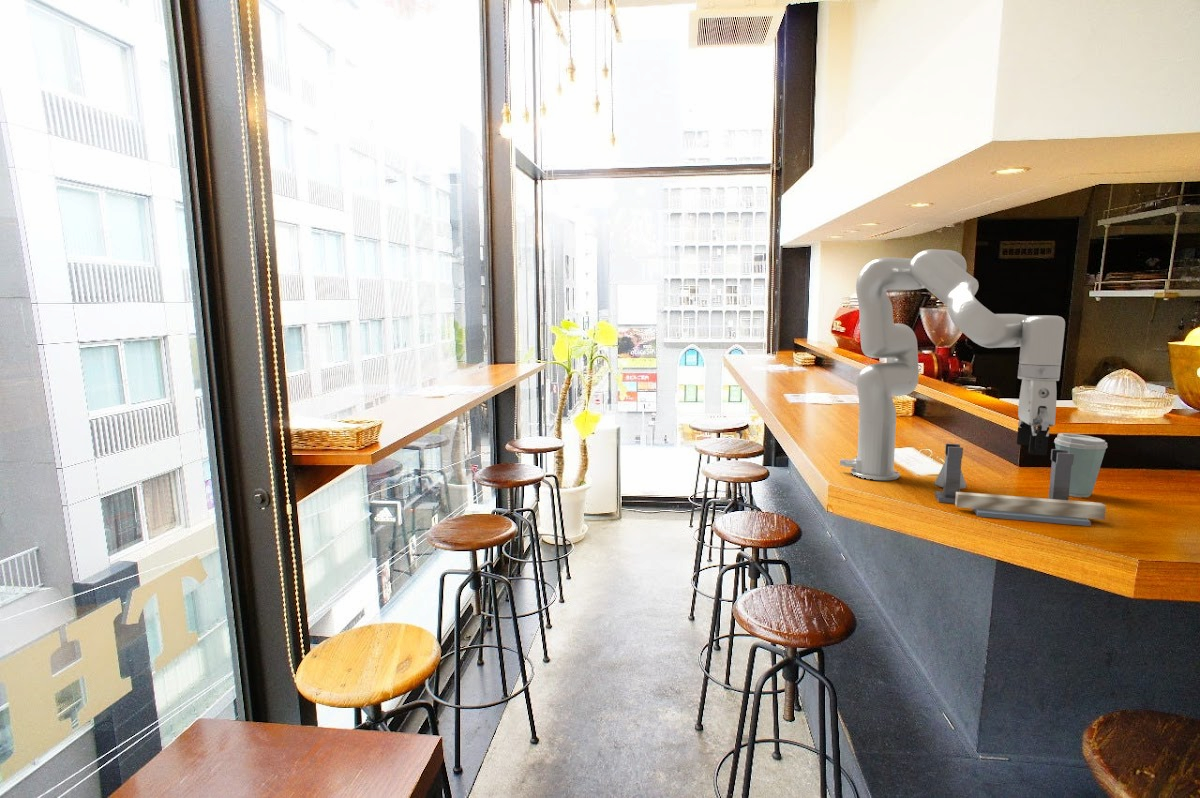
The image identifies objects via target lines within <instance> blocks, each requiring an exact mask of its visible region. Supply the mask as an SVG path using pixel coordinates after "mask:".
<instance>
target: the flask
mask: <svg viewBox="0 0 1200 798" xmlns="http://www.w3.org/2000/svg"><path fill="white" fill-rule="evenodd" d="M944 471H945V461H944V463H943V464H942V467H941V469H940V470H939V473H938V475H937V477H936V479H935V481H934V484H933V485H935V486H937V487H941V488H943V487H944ZM967 487H968V485H967V482H966V480H965V477H964V474H963V471H962V470H961V476H960V490H962V489H965V488H967Z"/></svg>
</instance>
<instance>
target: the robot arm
mask: <svg viewBox="0 0 1200 798" xmlns="http://www.w3.org/2000/svg"><path fill="white" fill-rule="evenodd" d="M967 265H968V264H967V261H966V259H965V257H964V256H963V255H962V254H961V253H959V252H958V251H955V250H951V249H935V248H931V249H929V248H928V249H925V250H924V249H923V250H921V251H919V252H917V253H916V254H915V255H914V256H913V257H912V258H905V257H888V256H887V257H879V258H875V259H873V260H870V261H869V262H867V263H866V264H865V265H864V266H863V267H862V268H861V270H860V271H859V274H858V276H857V279H856V283H855V288H856V289H855V290H856V291H855V292H856V297H857V304H858V310H859V311H858V312H859V334H860V335H859V336H860V346H861V347H860V348H861V351H862V353H863V355H864V356H866V357H868V358H871V359H886V362H877V363H872V364H868V365H866V366H864V367H863V368H862V369H860V370H859V372H858V374H857V378H856V388H857V395H858V402H859V403H858V407H859V408H858V430H857V431H858V435H857V439H858V440H857V454H856V455H857V456H855V458H851V459H846V458H840V460H839V466H842V467H843V466H844V467H845V468H851V469H850V474H851V473H852V474H853V475H852V474H851V475H852V476H854V475H856V476H858V477H857V478H859V477H861V478H860V479H864V478H866V479H865V480H870V479H873V481H894V480H898V479H899V478H900V474H901V473H900V472H899V471H898V470H896V469H894V466H895V451H896V449H895V448H896V429H897V409H896V406H895V403H894V400H893V397H902V396H906V395H910V394H911V393H913V392H914V391H915V390H916V389H917V387H918V383H919V378H920V377H919V376H920V373H919V371H920V370H919V369H920V368H919V356H918V355H919V350H918V349H919V348H918V339H917V336H916V334H915V332H914V330H913V329H912V328H911V327H910V326H909V325H906V324H905V323H896V322H895V323H894V310H893V309H894V308H893V304H892V301H891V299H890V298H889V296H888V294H887V291H892V290H893V291H915V290H921V289H926V290H927V291H928V292H930V293H931V294H932V295H933V296H934V297H936V298H937V299H938V300H939V301H940V302H942V304H944V305H945V306H946V307H947V312H948V316H949V318H950V319H951V321H952V323H953V325H954V326H955V327H956V328H957V329H958V330H959V331H960V332H961V333H962V334H963V335H965V337H967V338H969V340H971V341H972V342H973V343H975V344H977V345H978V346H980V347H984V348H987V349H994V348H995V349H997V348H1017V347H1020V349H1019V360H1018V362H1019V364H1018V369H1017V379H1019V380H1021V385H1020V392H1019V398H1018V406H1017V407H1018V409H1017V412H1018V413H1017V416H1018V419H1019V421H1018V427H1017V432H1016V433H1017V434H1016V435H1017V436H1016V445H1018V446H1028V454H1030V455H1039V456H1046V455H1047V454H1048V447H1049V436H1050V432H1049V430H1050V428H1051V427H1054V426H1055V425H1056V415H1057V414H1056V413H1057V392H1058V391H1057V382H1059V381H1060V377H1061V366H1062V360H1063V359H1062V358H1063V357H1062V356H1063V349H1064V339H1065V331H1066V329H1065V328H1066V321H1065V319H1064V318H1063V317H1062V316H1059V315H1046V314H1045V315H1040V314H1039V315H1026V314H1019V313H994V312H992V311H991V310H990V309H988V308H987V307H986V306H984V305H983V304H982V303H981V302H980V301H979V300H978V299H977V298H976V297H975V295H976V294H977V292H978V290H979V281H978V279H976V278H975V277H974V276H972V275H971V274H970V273H968V272H967V269H968V266H967ZM856 476H855V477H856Z"/></svg>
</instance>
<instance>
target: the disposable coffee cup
mask: <svg viewBox="0 0 1200 798" xmlns="http://www.w3.org/2000/svg"><path fill="white" fill-rule="evenodd" d="M1053 443H1054V445H1055V449H1059V450H1068V453H1073V454H1074V459H1073V465H1072V466H1071V477H1070V488H1069V497H1074V498H1082V497H1085V498H1090V497H1089V496H1091V495H1092V494H1093V493H1094V488H1095V485H1096V482H1097V479H1098V475H1099V472H1100V469H1101V466H1102V462H1103V460H1104V456H1105V453H1106V449H1108V442H1106V440H1105V439H1102V438H1100V437H1094V436H1091V435H1084V434H1076V433H1067V432H1066V433H1064V432H1060V433H1057V436H1056V437H1055V439H1054V441H1053Z"/></svg>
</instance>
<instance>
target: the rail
mask: <svg viewBox="0 0 1200 798" xmlns="http://www.w3.org/2000/svg"><path fill="white" fill-rule="evenodd" d="M955 507H956V508H964V509H972V508H973V509H984V510H996V511H1008V512H1020V513H1031V514H1043V515H1055V516H1067V517H1079V518H1087V519H1093V520H1102V521H1104V520H1105V519H1106V510H1107V505H1106V504H1103V502H1094V501H1080V500H1070V499H1068V500H1057V499H1049V498H1043V497H1032V496H1031V497H1030V496H1029V497H1028V496H1018V495H1017V496H1016V495H1004V494H992V493H991V494H990V493H979V492H966V491H965V492H963V491H959V492H956V497H955ZM973 509H972V510H973Z"/></svg>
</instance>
